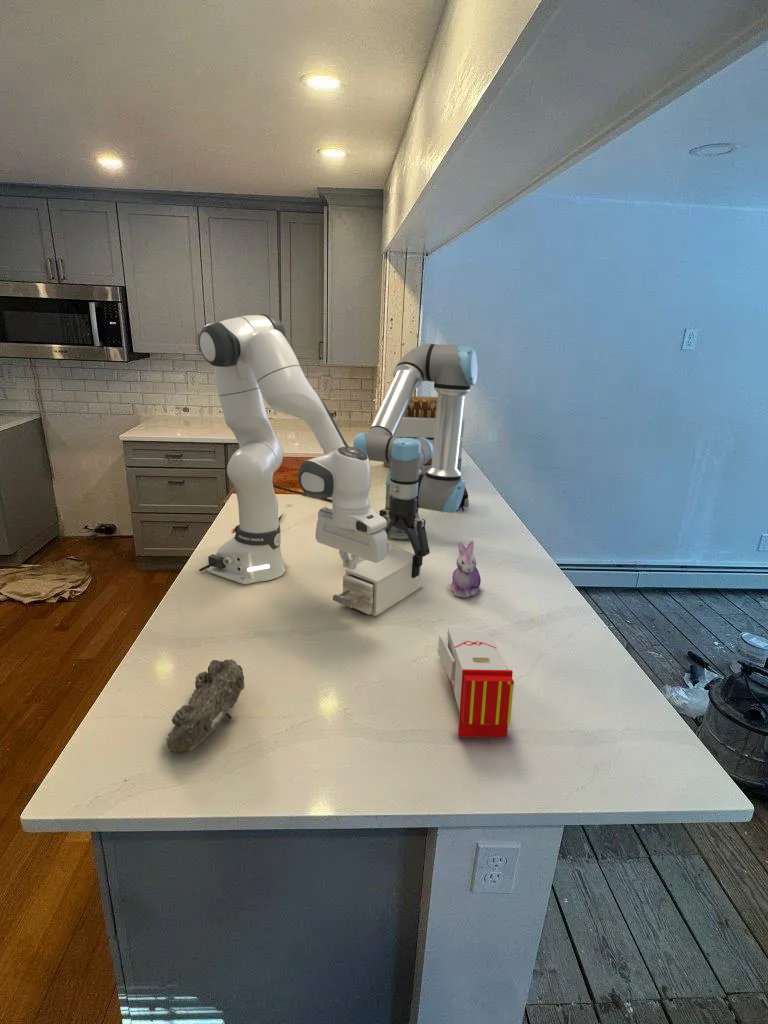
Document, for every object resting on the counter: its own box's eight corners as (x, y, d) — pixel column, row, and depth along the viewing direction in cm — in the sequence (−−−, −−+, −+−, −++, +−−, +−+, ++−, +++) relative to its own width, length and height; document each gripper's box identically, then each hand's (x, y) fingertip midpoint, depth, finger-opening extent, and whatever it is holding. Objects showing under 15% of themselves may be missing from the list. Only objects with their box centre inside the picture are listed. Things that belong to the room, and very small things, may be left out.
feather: (290, 508, 223) (292, 504, 223) (272, 532, 197) (275, 527, 196) (286, 505, 223) (289, 501, 223) (268, 529, 197) (271, 525, 196)
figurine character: (468, 516, 224) (463, 500, 237) (471, 498, 221) (465, 483, 234) (452, 515, 224) (447, 499, 237) (453, 498, 220) (449, 482, 234)
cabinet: (375, 616, 146) (377, 581, 143) (345, 603, 152) (345, 569, 148) (419, 588, 162) (422, 555, 158) (390, 577, 167) (392, 546, 164)
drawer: (355, 624, 140) (355, 595, 137) (327, 612, 145) (327, 583, 142) (412, 588, 159) (414, 561, 157) (386, 578, 164) (387, 552, 162)
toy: (488, 613, 130) (523, 677, 101) (484, 667, 133) (517, 744, 104) (435, 612, 130) (455, 676, 101) (432, 666, 133) (451, 743, 103)
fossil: (192, 660, 117) (244, 628, 112) (224, 691, 120) (276, 661, 115) (142, 746, 98) (202, 712, 93) (182, 779, 101) (242, 748, 96)
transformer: (382, 463, 289) (386, 382, 275) (445, 464, 293) (451, 384, 279) (390, 482, 257) (394, 392, 243) (460, 483, 261) (468, 394, 247)
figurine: (461, 602, 155) (467, 551, 150) (441, 586, 163) (445, 537, 158) (489, 595, 159) (495, 546, 154) (468, 580, 167) (473, 533, 162)
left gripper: (309, 508, 139) (310, 559, 144) (376, 529, 128) (373, 584, 132) (327, 502, 144) (326, 552, 148) (392, 522, 133) (389, 575, 137)
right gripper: (361, 490, 156) (359, 563, 164) (432, 509, 144) (425, 587, 151) (378, 484, 162) (375, 555, 169) (447, 502, 149) (440, 578, 157)
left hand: (349, 567), depth 140 cm, fingers closed
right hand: (399, 570), depth 160 cm, fingers closed on cabinet, 10 cm apart
